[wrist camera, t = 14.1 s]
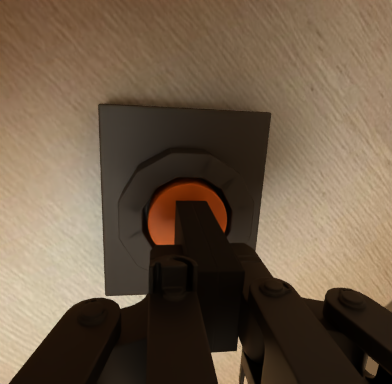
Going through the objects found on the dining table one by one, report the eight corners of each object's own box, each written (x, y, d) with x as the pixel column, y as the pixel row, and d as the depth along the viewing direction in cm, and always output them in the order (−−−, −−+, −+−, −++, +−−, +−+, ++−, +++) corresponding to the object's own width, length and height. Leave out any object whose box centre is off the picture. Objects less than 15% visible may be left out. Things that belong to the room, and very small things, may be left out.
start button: (148, 175, 16) (147, 183, 14) (222, 176, 16) (230, 184, 15) (147, 244, 17) (147, 259, 15) (217, 243, 17) (224, 258, 16)
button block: (104, 103, 17) (90, 103, 13) (258, 111, 18) (286, 113, 14) (110, 276, 20) (99, 317, 16) (241, 272, 21) (260, 309, 17)
